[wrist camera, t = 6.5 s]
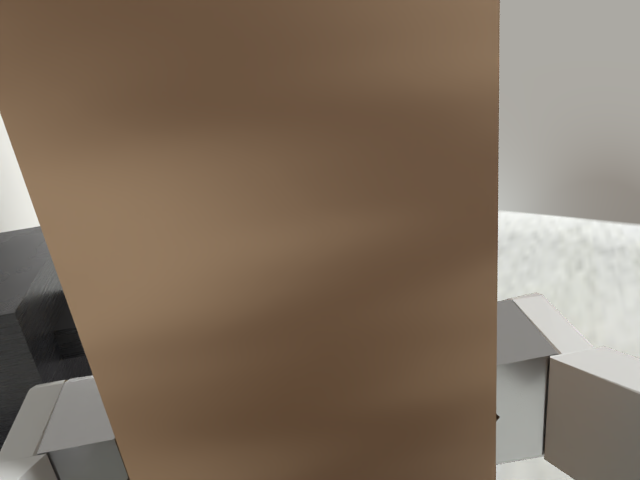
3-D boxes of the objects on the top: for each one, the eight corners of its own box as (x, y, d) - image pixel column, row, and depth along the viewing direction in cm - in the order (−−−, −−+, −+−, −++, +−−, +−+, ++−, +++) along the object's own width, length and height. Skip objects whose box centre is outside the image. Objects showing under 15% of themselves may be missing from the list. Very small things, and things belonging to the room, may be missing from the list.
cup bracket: (-120, 611, 17) (-334, 301, 13) (26, 338, 30) (-56, 133, 25) (482, 486, 19) (480, 166, 14) (379, 275, 31) (360, 70, 27)
